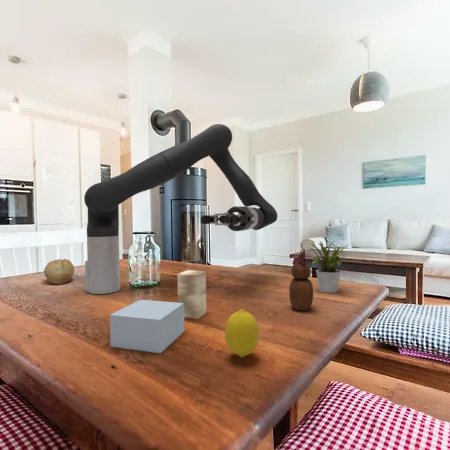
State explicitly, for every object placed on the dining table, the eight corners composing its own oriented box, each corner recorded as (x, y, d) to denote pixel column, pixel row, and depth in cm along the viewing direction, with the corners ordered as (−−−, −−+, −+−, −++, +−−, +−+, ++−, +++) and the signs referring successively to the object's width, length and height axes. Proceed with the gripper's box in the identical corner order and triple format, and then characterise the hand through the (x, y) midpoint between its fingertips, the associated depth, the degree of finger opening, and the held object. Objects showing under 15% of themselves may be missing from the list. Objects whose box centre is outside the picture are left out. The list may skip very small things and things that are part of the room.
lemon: (224, 350, 52) (223, 305, 52) (255, 349, 53) (255, 303, 52) (227, 366, 47) (226, 315, 46) (262, 364, 47) (261, 314, 47)
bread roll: (71, 276, 118) (70, 256, 118) (77, 283, 106) (77, 260, 106) (42, 279, 113) (41, 258, 113) (46, 287, 101) (45, 263, 100)
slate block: (110, 347, 54) (109, 314, 54) (141, 327, 64) (140, 299, 64) (160, 354, 52) (159, 319, 51) (184, 332, 61) (183, 303, 61)
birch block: (178, 316, 70) (177, 274, 69) (187, 310, 74) (187, 270, 74) (197, 319, 68) (197, 275, 68) (206, 312, 73) (205, 271, 72)
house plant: (291, 290, 92) (291, 237, 91) (312, 283, 102) (312, 234, 101) (337, 299, 82) (337, 240, 82) (355, 289, 92) (355, 236, 92)
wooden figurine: (314, 313, 71) (314, 250, 70) (289, 312, 72) (289, 249, 72) (311, 305, 78) (311, 247, 77) (289, 304, 79) (288, 246, 78)
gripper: (222, 207, 97) (193, 206, 83) (263, 205, 90) (239, 205, 76) (222, 230, 98) (193, 233, 84) (263, 230, 91) (239, 234, 77)
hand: (215, 220), depth 80 cm, fingers open, 8 cm apart
